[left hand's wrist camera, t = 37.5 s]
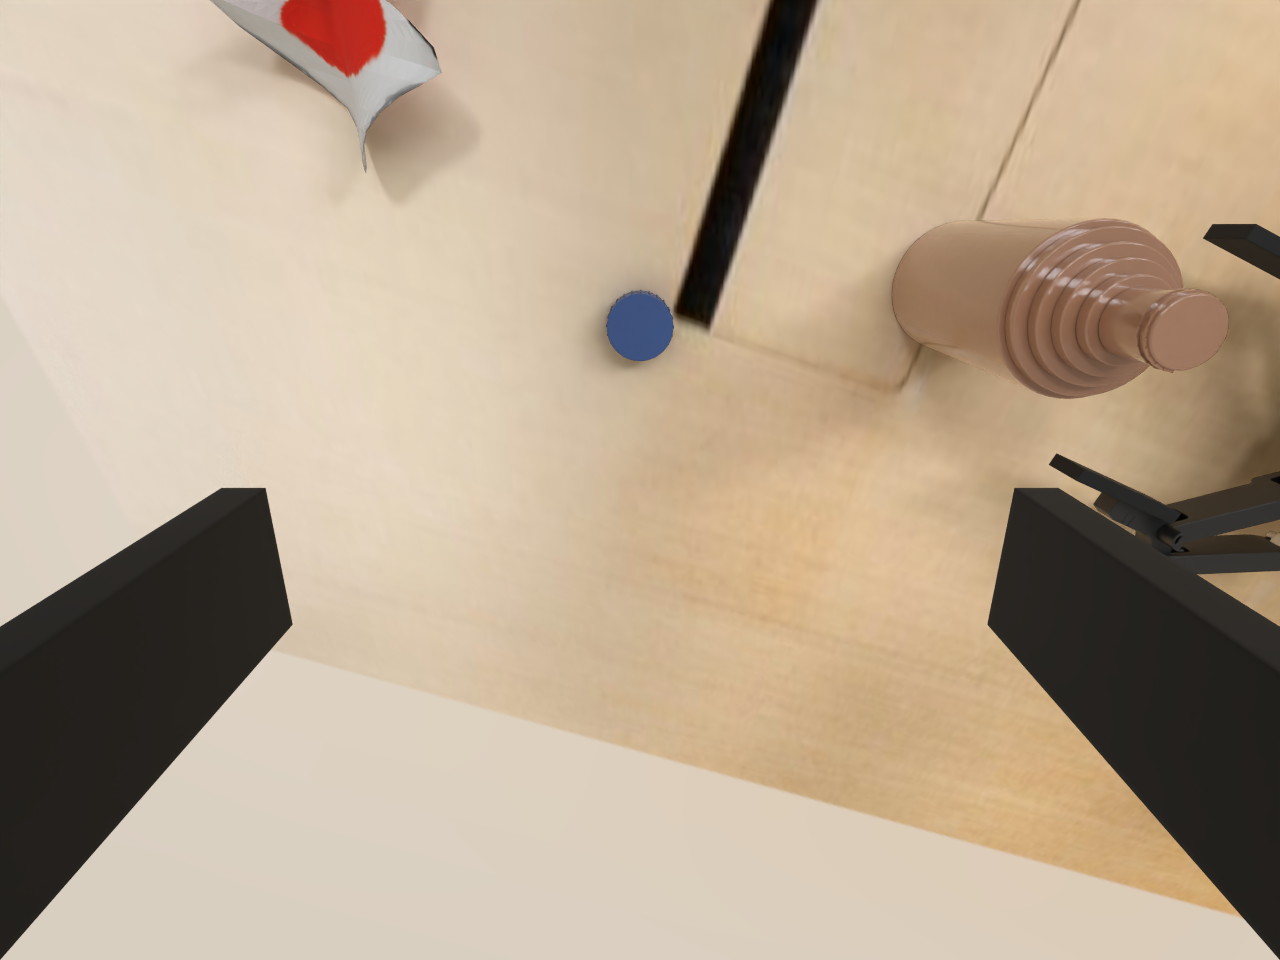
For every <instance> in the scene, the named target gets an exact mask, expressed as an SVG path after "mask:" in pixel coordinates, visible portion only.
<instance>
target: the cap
mask: <svg viewBox="0 0 1280 960" xmlns="http://www.w3.org/2000/svg"><path fill="white" fill-rule="evenodd" d="M607 318H608V322H607V325H606V327H607V333H608V334H607V336H608V337H609V340H610V343H611V344H612V346H613V347H614V349H615V350H616V351H617V352H618V353H619V354H621V355H622V356H624V357H626V358H628V359H631V360H635V361H645V360H649V359H652V358H654V357H656V356H658V355H659V354H661V353H662V352H663V351H664V350H665V349H666V347H667V346H668V345H669V342H670V340H671V338H672V334H673V328H674V326H673V321H672V320H673V317H672V315H671V314H670V309H669V307H667V305H666V304H665V302H664V300H662V299H660V298H659V297H658V295H655V294H653V293H650V291H648V292H646V291H641V290H640V291H634V292H633V291H631V292H630V293H628V294H626V295H625V294H623V296H622V297H621V298H620V299H617V300H616V303H615V304H614V306H612V307H611V312H610V314H608V317H607Z"/></svg>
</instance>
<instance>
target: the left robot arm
mask: <svg viewBox="0 0 1280 960" xmlns="http://www.w3.org/2000/svg"><path fill="white" fill-rule="evenodd" d="M292 625H293V624H292V619H291V614H290V609H289V604H288V599H287V594H286V589H285V584H284V579H283V574H282V569H281V564H280V559H279V554H278V549H277V544H276V539H275V534H274V529H273V524H272V519H271V513H270V508H269V503H268V498H267V493H266V488H221V489H219V490H218V491H216V492H215V493H213V494H211V495H210V496H208V497H207V498H205V499H203V500H202V501H200V502H199V503H197V504H195V505H194V506H192V507H191V508H189V509H187V510H186V511H184V512H183V513H181V514H179V515H178V516H176V517H175V518H173V519H171V520H170V521H168V522H167V523H165V524H163V525H162V526H160V527H159V528H157V529H155V530H154V531H152V532H151V533H149V534H147V535H146V536H144V537H143V538H141V539H140V540H138V541H136V542H135V543H133V544H132V545H130V546H128V547H127V548H125V549H124V550H122V551H120V552H119V553H117V554H116V555H114V556H112V557H111V558H109V559H108V560H106V561H104V562H103V563H101V564H100V565H98V566H96V567H95V568H93V569H92V570H90V571H88V572H87V573H85V574H84V575H82V576H80V577H79V578H77V579H76V580H74V581H73V582H71V583H69V584H68V585H66V586H64V587H63V588H61V589H60V590H58V591H57V592H55V593H53V594H52V595H50V596H48V597H47V598H45V599H44V600H42V601H41V602H39V603H37V604H36V605H34V606H33V607H31V608H29V609H28V610H26V611H25V612H23V613H21V614H20V615H18V616H17V617H15V618H13V619H12V620H10V621H9V622H7V623H5V624H4V625H2V626H1V627H0V959H1V958H2V957H3V956H4V955H5V954H6V953H7V951H8V950H9V949H10V948H11V947H12V946H13V945H14V943H15V942H16V941H17V940H18V939H19V938H20V936H21V935H22V934H23V933H24V932H25V931H26V930H27V928H28V927H29V926H30V925H31V924H32V923H33V922H34V920H35V919H36V918H37V917H38V916H39V915H40V914H41V912H42V911H43V910H44V909H45V908H46V907H47V906H48V904H49V903H50V902H51V901H52V900H53V899H54V897H55V896H56V895H57V894H58V893H59V892H60V891H61V889H62V888H63V887H64V886H65V885H66V884H67V883H68V881H69V880H70V879H71V878H72V877H73V876H74V875H75V873H76V872H77V871H78V870H79V869H80V868H81V867H82V865H83V864H84V863H85V862H86V861H87V860H88V858H89V857H90V856H91V855H92V854H93V853H94V852H95V850H96V849H97V848H98V847H99V846H100V845H101V844H102V842H103V841H104V840H105V839H106V838H107V837H108V836H109V834H110V833H111V832H112V831H113V830H114V829H115V828H116V826H117V825H118V824H119V823H120V822H121V821H122V820H123V818H124V817H125V816H126V815H127V814H128V813H129V811H130V810H131V809H132V808H133V807H134V806H135V805H136V803H137V802H138V801H139V800H140V799H141V798H142V797H143V795H144V794H145V793H146V792H147V791H148V790H149V789H150V787H151V786H152V785H153V784H154V783H155V782H156V781H157V779H158V778H159V777H160V776H161V775H162V774H163V773H164V771H165V770H166V769H167V768H168V767H169V766H170V764H171V763H172V762H173V761H174V760H175V759H176V758H177V756H178V755H179V754H180V753H181V752H182V751H183V750H184V748H185V747H186V746H187V745H188V744H189V743H190V741H191V740H192V739H193V738H194V737H195V736H196V735H197V733H198V732H199V731H200V730H201V729H202V728H203V727H204V725H205V724H206V723H207V722H208V721H209V720H210V719H211V717H212V716H213V715H214V714H215V713H216V712H217V711H218V709H219V708H220V707H221V706H222V705H223V704H224V703H225V701H226V700H227V699H228V698H229V697H230V696H231V694H232V693H233V692H234V691H235V690H236V689H237V688H238V686H239V685H240V684H241V683H242V682H243V681H244V680H245V678H246V677H247V676H248V675H249V674H250V673H251V672H252V670H253V669H254V668H255V667H256V666H257V665H258V664H259V662H260V661H261V660H262V659H263V658H264V657H265V656H266V654H267V653H268V652H269V651H270V650H271V649H272V648H273V646H274V645H275V644H276V643H277V642H278V641H279V639H280V638H281V637H282V636H283V635H284V634H285V633H286V631H287V630H288V629H289V628H290V627H291V626H292ZM987 625H988V626H989V627H990V628H991V629H992V630H993V631H994V633H995V634H996V635H997V636H998V637H999V638H1000V639H1001V641H1002V642H1003V643H1004V644H1005V645H1006V646H1007V648H1008V649H1009V650H1010V651H1011V652H1012V653H1013V654H1014V656H1015V657H1016V658H1017V659H1018V660H1019V661H1020V662H1021V664H1022V665H1023V666H1024V667H1025V668H1026V669H1027V670H1028V672H1029V673H1030V674H1031V675H1032V676H1033V677H1034V678H1035V680H1036V681H1037V682H1038V683H1039V684H1040V685H1041V686H1042V688H1043V689H1044V690H1045V691H1046V692H1047V693H1048V695H1049V696H1050V697H1051V698H1052V699H1053V700H1054V701H1055V703H1056V704H1057V705H1058V706H1059V707H1060V708H1061V709H1062V711H1063V712H1064V713H1065V714H1066V715H1067V716H1068V717H1069V719H1070V720H1071V721H1072V722H1073V723H1074V724H1075V725H1076V727H1077V728H1078V729H1079V730H1080V731H1081V732H1082V734H1083V735H1084V736H1085V737H1086V738H1087V739H1088V740H1089V742H1090V743H1091V744H1092V745H1093V746H1094V747H1095V748H1096V750H1097V751H1098V752H1099V753H1100V754H1101V755H1102V756H1103V758H1104V759H1105V760H1106V761H1107V762H1108V763H1109V764H1110V766H1111V767H1112V768H1113V769H1114V770H1115V771H1116V773H1117V774H1118V775H1119V776H1120V777H1121V778H1122V779H1123V781H1124V782H1125V783H1126V784H1127V785H1128V786H1129V787H1130V789H1131V790H1132V791H1133V792H1134V793H1135V794H1136V795H1137V797H1138V798H1139V799H1140V800H1141V801H1142V802H1143V803H1144V805H1145V806H1146V807H1147V808H1148V809H1149V810H1150V811H1151V813H1152V814H1153V815H1154V816H1155V817H1156V818H1157V820H1158V821H1159V822H1160V823H1161V824H1162V825H1163V826H1164V828H1165V829H1166V830H1167V831H1168V832H1169V833H1170V834H1171V836H1172V837H1173V838H1174V839H1175V840H1176V841H1177V842H1178V844H1179V845H1180V846H1181V847H1182V848H1183V849H1184V850H1185V852H1186V853H1187V854H1188V855H1189V856H1190V857H1191V859H1192V860H1193V861H1194V862H1195V863H1196V864H1197V865H1198V867H1199V868H1200V869H1201V870H1202V871H1203V872H1204V873H1205V875H1206V876H1207V877H1208V878H1209V879H1210V880H1211V881H1212V883H1213V884H1214V885H1215V886H1216V887H1217V888H1218V889H1219V891H1220V892H1221V893H1222V894H1223V895H1224V896H1225V898H1226V899H1227V900H1228V901H1229V902H1230V903H1231V904H1232V906H1233V907H1234V908H1235V909H1236V910H1237V911H1238V912H1239V914H1240V915H1241V916H1242V917H1243V918H1244V919H1245V920H1246V922H1247V923H1248V924H1249V925H1250V926H1251V927H1252V928H1253V930H1254V931H1255V932H1256V933H1257V934H1258V935H1259V936H1260V938H1261V939H1262V940H1263V941H1264V942H1265V943H1266V945H1267V946H1268V947H1269V948H1270V949H1271V950H1272V951H1273V953H1274V954H1275V955H1276V956H1277V957H1278V958H1279V959H1280V627H1279V626H1278V625H1276V624H1275V623H1273V622H1271V621H1270V620H1268V619H1267V618H1265V617H1263V616H1262V615H1260V614H1259V613H1257V612H1255V611H1254V610H1252V609H1251V608H1249V607H1247V606H1246V605H1244V604H1243V603H1241V602H1239V601H1238V600H1236V599H1235V598H1233V597H1232V596H1230V595H1228V594H1227V593H1225V592H1224V591H1222V590H1220V589H1219V588H1217V587H1216V586H1214V585H1212V584H1211V583H1209V582H1208V581H1206V580H1204V579H1203V578H1201V577H1200V576H1198V575H1196V574H1195V573H1193V572H1192V571H1190V570H1188V569H1187V568H1185V567H1184V566H1182V565H1180V564H1179V563H1177V562H1176V561H1174V560H1172V559H1171V558H1169V557H1168V556H1166V555H1164V554H1163V553H1161V552H1160V551H1158V550H1156V549H1155V548H1153V547H1152V546H1150V545H1148V544H1147V543H1145V542H1144V541H1142V540H1140V539H1139V538H1137V537H1136V536H1134V535H1133V534H1131V533H1129V532H1128V531H1126V530H1125V529H1123V528H1121V527H1120V526H1118V525H1117V524H1115V523H1113V522H1112V521H1110V520H1109V519H1107V518H1105V517H1104V516H1102V515H1101V514H1099V513H1097V512H1096V511H1094V510H1093V509H1091V508H1089V507H1088V506H1086V505H1085V504H1083V503H1081V502H1080V501H1078V500H1077V499H1075V498H1073V497H1072V496H1070V495H1069V494H1067V493H1065V492H1064V491H1062V490H1061V489H1059V488H1014V493H1013V498H1012V503H1011V508H1010V513H1009V519H1008V524H1007V529H1006V534H1005V539H1004V544H1003V549H1002V554H1001V559H1000V564H999V569H998V574H997V579H996V584H995V589H994V594H993V599H992V604H991V609H990V614H989V619H988V624H987Z"/></svg>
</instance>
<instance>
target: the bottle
mask: <svg viewBox="0 0 1280 960" xmlns="http://www.w3.org/2000/svg"><path fill="white" fill-rule="evenodd" d="M892 303H893V308H894V313H895V315H896V318H897V320H898V322H899V324H900V326H901V327H902V329H903V330H904V331H905V332H906V333H907V334H908V335H909V336H910V337H911V338H912V339H914V340H915V341H916V342H918V343H920V344H922V345H924V346H927V347H929V348H931V349H934V350H936V351H938V352H941V353H943V354H946V355H948V356H950V357H953V358H955V359H958V360H960V361H962V362H965V363H967V364H969V365H972V366H974V367H977V368H979V369H981V370H984V371H986V372H988V373H991V374H993V375H996V376H998V377H1000V378H1003V379H1005V380H1007V381H1010V382H1012V383H1015V384H1017V385H1019V386H1022V387H1024V388H1027V389H1029V390H1031V391H1034V392H1036V393H1038V394H1042V395H1045V396H1048V397H1053V398H1062V399H1073V398H1082V397H1087V396H1091V395H1096V394H1101V393H1104V392H1107V391H1110V390H1113V389H1115V388H1118V387H1120V386H1122V385H1124V384H1126V383H1127V382H1129V381H1131V380H1132V379H1134V378H1135V377H1137V376H1138V375H1139V374H1141V373H1142V372H1143V371H1145V370H1146V369H1147V368H1148V367H1149V366H1151V367H1153V368H1156V369H1160V370H1163V371H1167V372H1171V373H1173V371H1174V370H1176V371H1180V370H1187V369H1191V368H1194V367H1197V366H1199V365H1201V364H1202V363H1204V362H1206V361H1207V360H1208V359H1210V358H1211V357H1212V356H1213V355H1214V354H1215V353H1216V352H1217V351H1218V350H1219V348H1220V347H1221V345H1222V344H1223V342H1224V340H1225V338H1226V335H1227V332H1228V327H1229V317H1228V313H1227V310H1226V308H1225V306H1224V305H1223V304H1222V303H1221V301H1220V300H1218V299H1217V298H1216V297H1215V296H1213V295H1212V294H1210V293H1209V292H1206V291H1202V290H1193V289H1183V282H1182V276H1181V272H1180V269H1179V266H1178V264H1177V262H1176V260H1175V258H1174V256H1173V255H1172V253H1171V252H1170V250H1169V249H1168V248H1167V247H1166V246H1165V245H1164V244H1163V243H1162V242H1161V241H1159V240H1158V239H1157V238H1156V237H1155V236H1154V235H1152V234H1151V233H1150V232H1149V231H1147V230H1146V229H1144V228H1142V227H1140V226H1138V225H1136V224H1133V223H1131V222H1128V221H1123V220H1118V219H1044V220H982V221H956V222H951V223H946V224H944V225H941V226H938V227H936V228H934V229H932V230H930V231H929V232H927V233H926V234H924V235H923V236H922V237H920V238H919V239H918V240H917V241H916V242H915V243H914V244H913V245H912V246H911V247H910V248H909V250H908V251H907V252H906V254H905V255H904V257H903V258H902V260H901V262H900V264H899V266H898V268H897V271H896V274H895V277H894V281H893V287H892Z"/></svg>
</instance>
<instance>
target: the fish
mask: <svg viewBox="0 0 1280 960" xmlns="http://www.w3.org/2000/svg"><path fill="white" fill-rule="evenodd" d="M211 1H212V2H213V3H214V4H215V5H216V6H217V7H218V8H220V9H221V10H222V11H223V12H224V13H225V14H226V15H227V16H229V17H230V18H231V19H232V20H233V21H234V22H235V23H236V24H237V25H239V26H240V27H241V28H242V29H244V30H245V31H247V32H248V33H249V34H251V35H252V36H254V37H255V38H256V39H258V40H259V41H261V42H262V43H263V44H265V45H266V46H267V47H269V48H270V49H272V50H273V51H274V52H276V53H277V54H279V55H280V56H281V57H283V58H284V59H286V60H287V61H288V62H290V63H291V64H292V65H294V66H295V67H297V68H298V69H299V70H301V71H302V72H303V73H305V74H306V75H307V76H309V77H310V78H312V79H313V80H314V81H316V82H317V83H318V84H320V85H321V86H322V87H324V88H325V89H326V90H327V91H328V92H329V93H331V94H332V95H333V96H334V97H335V98H336V99H338V100H339V101H340V102H341V103H342V104H343V105H344V106H346V107H347V108H348V110H349V112H350V114H351V116H352V118H353V120H354V122H355V124H356V126H357V130H358V136H359V141H360V147H361V153H362V162H363V166H364V170H365V173H366V168H367V166H366V156H365V148H364V143H365V136H366V131H367V130H368V128H369V127H370V125H371V124H372V123H373V121H374V120H375V119H376V117H377V116H378V114H379V113H380V112H381V111H383V110H384V109H385V108H386V107H387V106H389V105H390V104H391V103H392V102H393V101H395V100H396V99H397V98H398V97H399V96H401V95H403V94H405V93H407V92H409V91H411V90H413V89H414V88H416V87H418V86H420V85H422V84H423V83H425V82H427V81H428V80H430V79H432V78H433V77H435V76H437V75H438V74H440V73H442V72H441V69H440V66H439V63H438V60H437V57H436V53H435V50H434V47H433V46H432V45H431V44H430V43H429V42H428V41H427V40H426V39H425V38H424V36H423V35H422V34H421V33H420V32H419V31H418V30H417V29H416V28H415V27H414V26H413V25H412V23H411V22H410V21H409V20H408V19H407V18H405V17H404V16H403V15H402V14H401V13H400V12H399V11H398V10H397V9H396V8H395V7H394V6H393V5H391V4H390V3H389V2H388V1H386V0H211Z"/></svg>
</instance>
